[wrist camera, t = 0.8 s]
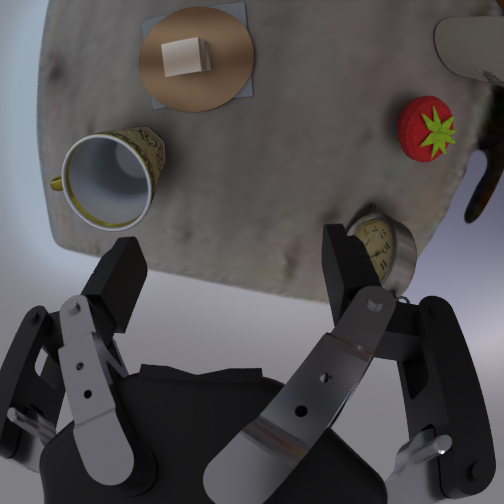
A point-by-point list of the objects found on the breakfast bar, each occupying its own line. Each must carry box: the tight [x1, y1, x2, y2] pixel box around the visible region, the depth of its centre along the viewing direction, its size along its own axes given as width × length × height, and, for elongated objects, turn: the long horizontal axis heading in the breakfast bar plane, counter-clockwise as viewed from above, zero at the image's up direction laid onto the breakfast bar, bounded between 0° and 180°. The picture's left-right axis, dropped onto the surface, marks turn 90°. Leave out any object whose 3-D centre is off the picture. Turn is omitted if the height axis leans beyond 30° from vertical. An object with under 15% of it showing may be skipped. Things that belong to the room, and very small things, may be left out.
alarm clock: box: [347, 204, 417, 304], centre depth 30 cm, size 11×5×16 cm, turn 157°
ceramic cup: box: [50, 127, 165, 232], centre depth 27 cm, size 13×10×10 cm
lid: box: [139, 7, 254, 112], centre depth 22 cm, size 12×12×6 cm
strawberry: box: [397, 96, 457, 162], centre depth 23 cm, size 6×8×10 cm
